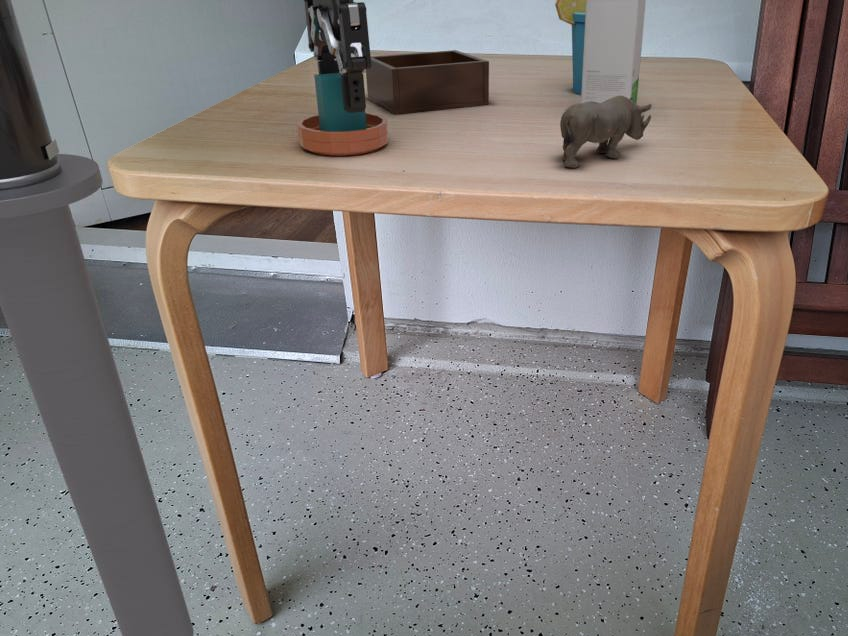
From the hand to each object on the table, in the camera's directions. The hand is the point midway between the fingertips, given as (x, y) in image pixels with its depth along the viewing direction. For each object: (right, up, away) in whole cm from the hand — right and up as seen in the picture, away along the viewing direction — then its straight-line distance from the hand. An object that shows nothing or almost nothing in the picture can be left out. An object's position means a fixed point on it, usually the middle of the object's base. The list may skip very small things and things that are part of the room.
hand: (343, 103), depth 80 cm
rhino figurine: (+28, -6, -1) cm, 29 cm away
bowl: (0, -4, +2) cm, 5 cm away
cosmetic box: (+31, +4, +16) cm, 35 cm away
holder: (+8, +8, +22) cm, 24 cm away
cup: (+32, +11, +28) cm, 44 cm away
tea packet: (0, -4, +2) cm, 4 cm away
